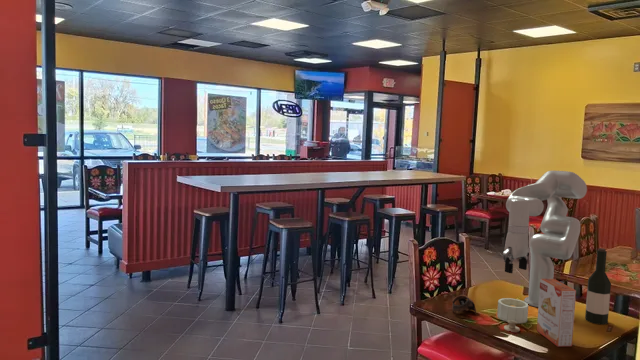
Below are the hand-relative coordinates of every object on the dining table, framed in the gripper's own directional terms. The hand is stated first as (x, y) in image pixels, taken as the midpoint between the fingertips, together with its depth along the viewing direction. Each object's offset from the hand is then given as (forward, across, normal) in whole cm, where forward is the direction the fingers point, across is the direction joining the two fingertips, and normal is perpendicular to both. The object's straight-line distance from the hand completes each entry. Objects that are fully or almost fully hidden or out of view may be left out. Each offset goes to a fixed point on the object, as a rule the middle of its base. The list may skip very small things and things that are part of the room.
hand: (515, 270), depth 196 cm
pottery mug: (+20, +12, -15) cm, 28 cm away
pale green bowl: (+20, 0, 0) cm, 20 cm away
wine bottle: (+20, -28, +20) cm, 40 cm away
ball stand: (+20, +12, +7) cm, 24 cm away
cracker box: (+20, +6, +21) cm, 29 cm away
